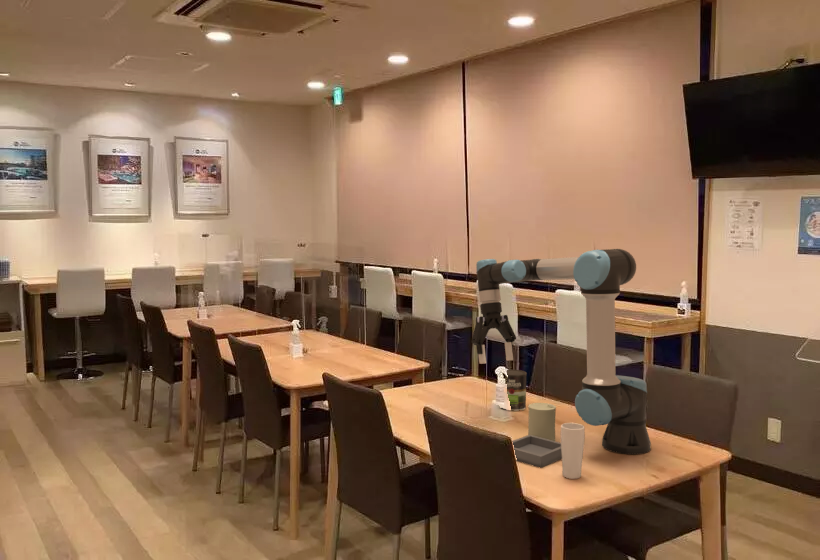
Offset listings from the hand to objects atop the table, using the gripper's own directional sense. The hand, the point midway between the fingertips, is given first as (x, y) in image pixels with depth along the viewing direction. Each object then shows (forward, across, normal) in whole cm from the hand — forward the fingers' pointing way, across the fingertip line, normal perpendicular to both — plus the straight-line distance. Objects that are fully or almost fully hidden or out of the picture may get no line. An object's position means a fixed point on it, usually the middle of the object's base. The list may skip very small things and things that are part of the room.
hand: (496, 362), depth 262 cm
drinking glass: (+34, +18, +44) cm, 58 cm away
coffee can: (+19, -22, -16) cm, 34 cm away
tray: (+29, +13, +26) cm, 41 cm away
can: (+27, -1, +16) cm, 32 cm away
